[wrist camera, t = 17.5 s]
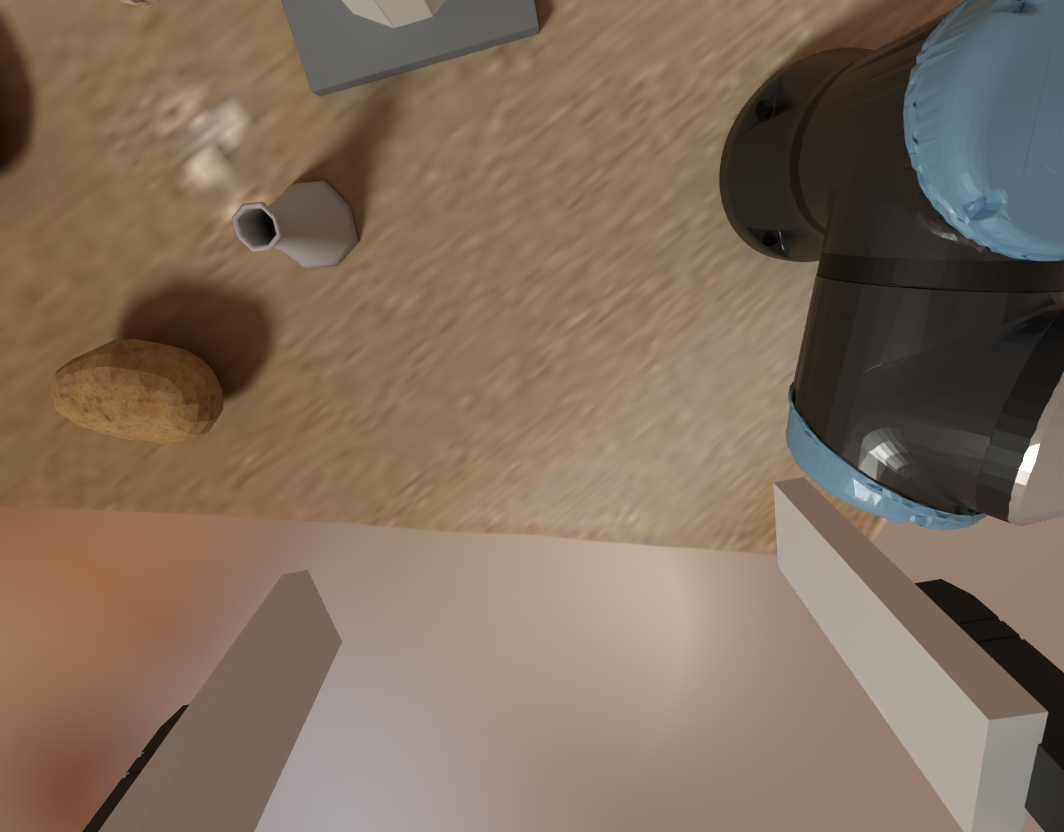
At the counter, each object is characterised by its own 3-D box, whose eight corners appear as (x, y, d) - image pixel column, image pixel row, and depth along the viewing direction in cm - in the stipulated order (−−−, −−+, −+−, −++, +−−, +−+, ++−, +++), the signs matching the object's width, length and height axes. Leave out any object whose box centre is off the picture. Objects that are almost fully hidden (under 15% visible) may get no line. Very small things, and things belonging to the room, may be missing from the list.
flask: (329, 164, 41) (269, 148, 32) (373, 247, 44) (329, 255, 35) (258, 202, 43) (180, 197, 33) (304, 281, 45) (244, 297, 36)
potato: (89, 326, 47) (3, 346, 39) (238, 333, 47) (181, 354, 39) (116, 421, 50) (43, 456, 43) (254, 427, 50) (205, 463, 43)
